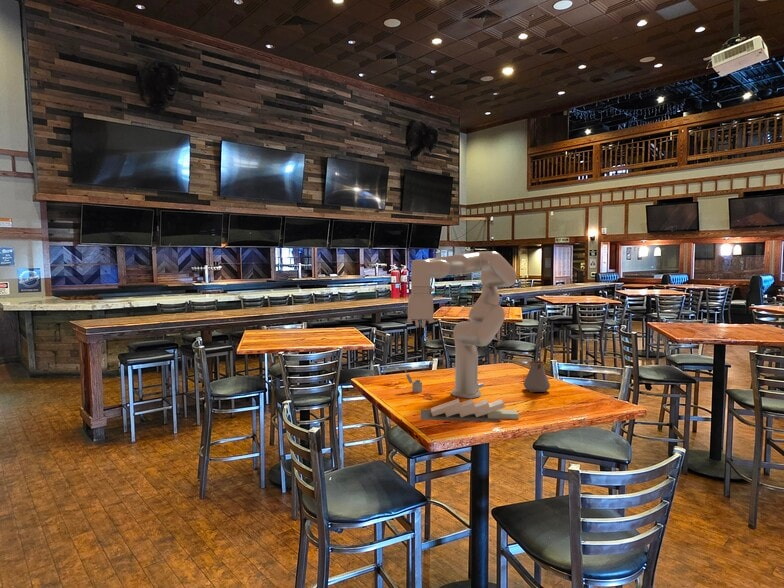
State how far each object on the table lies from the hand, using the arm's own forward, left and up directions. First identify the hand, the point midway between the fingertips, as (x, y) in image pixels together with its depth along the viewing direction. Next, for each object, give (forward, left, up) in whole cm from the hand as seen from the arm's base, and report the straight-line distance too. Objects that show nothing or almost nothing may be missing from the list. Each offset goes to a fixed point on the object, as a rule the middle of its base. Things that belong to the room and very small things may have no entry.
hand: (420, 337), depth 188 cm
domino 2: (+3, +16, -26) cm, 31 cm away
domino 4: (-5, +24, -26) cm, 35 cm away
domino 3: (-1, +20, -26) cm, 33 cm away
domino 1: (+6, +13, -26) cm, 29 cm away
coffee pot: (-51, +21, -27) cm, 62 cm away
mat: (-1, +20, -27) cm, 34 cm away
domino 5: (-8, +27, -26) cm, 38 cm away
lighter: (-12, -16, -27) cm, 34 cm away
